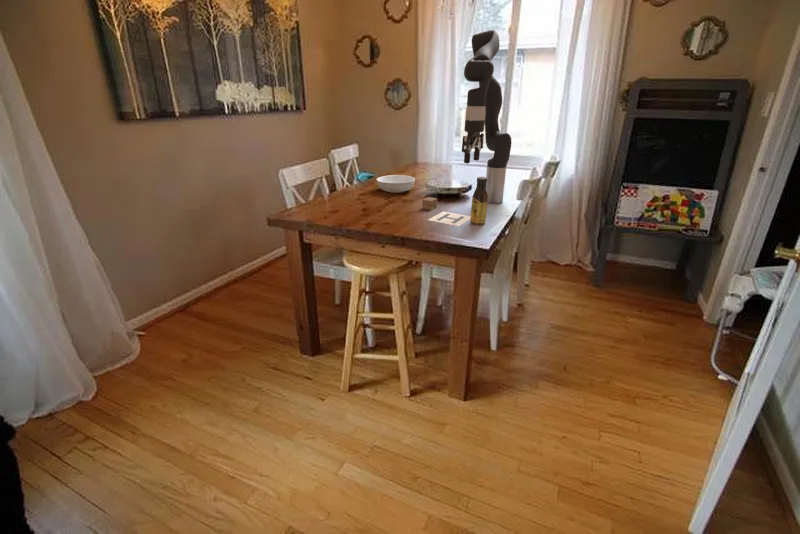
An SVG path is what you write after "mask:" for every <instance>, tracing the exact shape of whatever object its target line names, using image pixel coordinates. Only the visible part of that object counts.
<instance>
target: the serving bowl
mask: <svg viewBox="0 0 800 534" xmlns="http://www.w3.org/2000/svg"><path fill="white" fill-rule="evenodd" d="M415 181H416V178H415V177H413V176H411V175H406V174H405V175H404V174H389V175H382V176H380V177H376V184H377V185H378V187H379V189H380V190H382V191H385V192H388V193H394V194H397V193H398V194H400V193H404V192H407V191H409V190H411V189H412V188H413V186H414V185H415Z"/></svg>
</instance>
